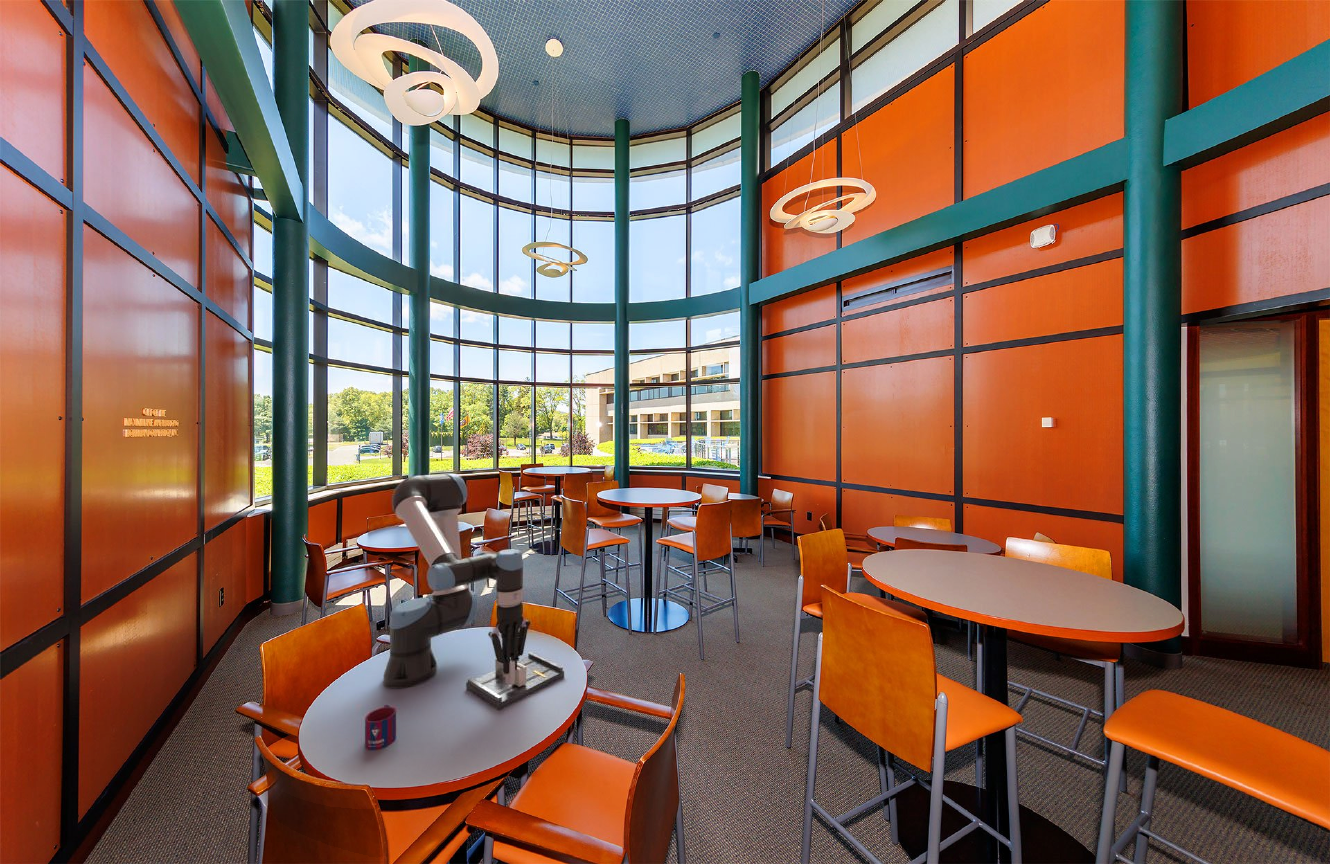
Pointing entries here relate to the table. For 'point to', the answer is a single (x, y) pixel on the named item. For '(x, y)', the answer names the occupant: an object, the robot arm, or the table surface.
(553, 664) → the console
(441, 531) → the robot arm
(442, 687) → the table surface
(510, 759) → the table surface
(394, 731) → the mug
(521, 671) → the fader tab
